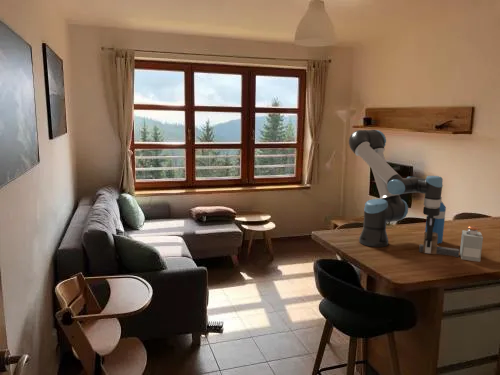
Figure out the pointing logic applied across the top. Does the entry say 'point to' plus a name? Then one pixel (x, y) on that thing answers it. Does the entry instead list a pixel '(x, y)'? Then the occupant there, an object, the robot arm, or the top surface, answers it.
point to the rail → (443, 250)
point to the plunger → (472, 230)
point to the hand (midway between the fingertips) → (427, 250)
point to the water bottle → (439, 223)
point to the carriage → (434, 242)
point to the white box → (471, 246)
